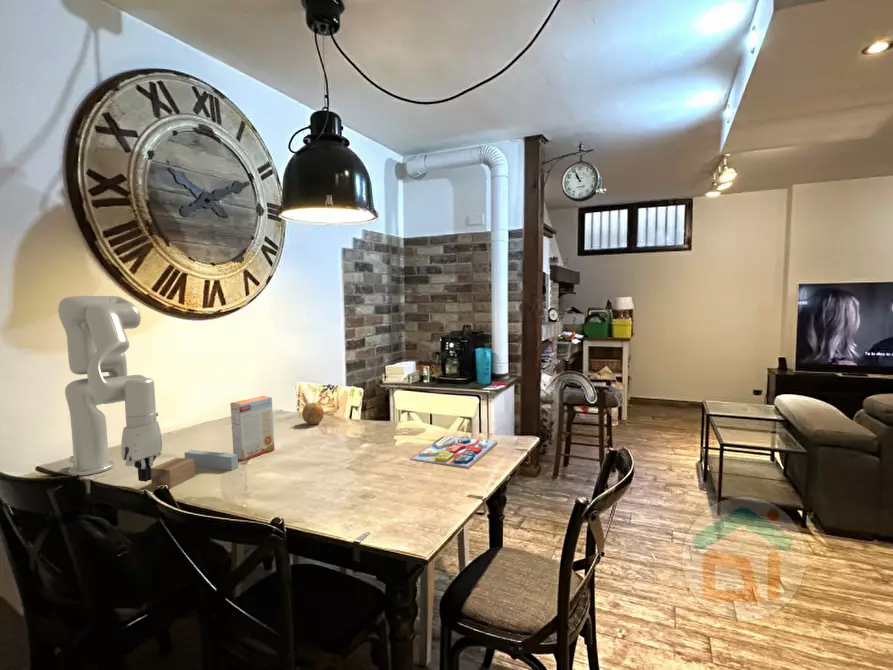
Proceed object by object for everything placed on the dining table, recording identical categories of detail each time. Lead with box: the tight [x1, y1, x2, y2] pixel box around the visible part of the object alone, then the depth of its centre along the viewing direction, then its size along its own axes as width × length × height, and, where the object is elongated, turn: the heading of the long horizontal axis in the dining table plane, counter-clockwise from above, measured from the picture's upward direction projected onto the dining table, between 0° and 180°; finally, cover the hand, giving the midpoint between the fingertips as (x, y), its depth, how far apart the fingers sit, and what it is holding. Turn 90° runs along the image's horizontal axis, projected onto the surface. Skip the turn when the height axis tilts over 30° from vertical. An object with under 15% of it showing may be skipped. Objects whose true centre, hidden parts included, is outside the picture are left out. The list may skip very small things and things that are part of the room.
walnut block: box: [150, 457, 196, 489], centre depth 149 cm, size 7×10×6 cm
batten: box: [184, 449, 239, 471], centre depth 163 cm, size 20×3×4 cm, turn 73°
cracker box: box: [230, 395, 275, 461], centre depth 174 cm, size 14×6×21 cm, turn 148°
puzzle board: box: [409, 435, 498, 469], centre depth 176 cm, size 30×23×3 cm
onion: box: [301, 402, 325, 425], centre depth 218 cm, size 10×10×10 cm
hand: (145, 480), depth 140 cm, fingers closed
